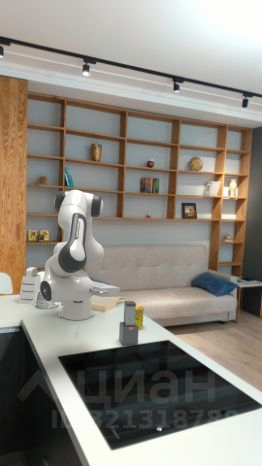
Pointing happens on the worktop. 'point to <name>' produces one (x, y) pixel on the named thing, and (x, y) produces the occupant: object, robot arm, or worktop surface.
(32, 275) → the grater
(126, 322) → the jack column
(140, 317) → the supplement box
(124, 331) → the base
